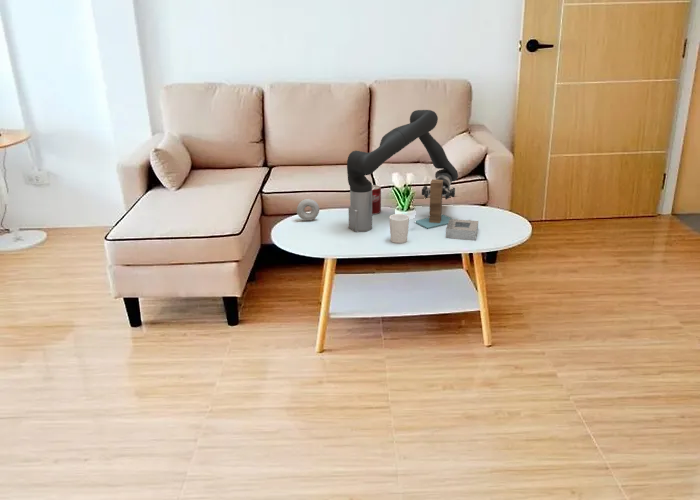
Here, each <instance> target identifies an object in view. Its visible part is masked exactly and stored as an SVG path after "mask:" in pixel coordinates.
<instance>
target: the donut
mask: <svg viewBox="0 0 700 500" xmlns="http://www.w3.org/2000/svg"><path fill="white" fill-rule="evenodd" d="M307 207H310V208H311V211H310V212H306V211H305V209H306V208H307ZM296 213H297V215H298V217H299V218H300V219H301V220H304V221H313V220H315V219H317V217H318V215H319V213H320V206H319V204H318V202H317V201H316V200H314V199H312V198H305V199H303V200H301V201H299V203H298V205H297V207H296Z"/></svg>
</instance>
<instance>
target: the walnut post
mask: <svg viewBox="0 0 700 500" xmlns="http://www.w3.org/2000/svg"><path fill="white" fill-rule="evenodd" d="M429 188H430V195H429V217H428V218H429V222H431V223H440V222H441V216H442V215H443V214H442V211H443V196H442V191H443V180H436V179H431V180H430V187H429Z"/></svg>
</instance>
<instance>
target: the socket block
mask: <svg viewBox="0 0 700 500" xmlns="http://www.w3.org/2000/svg"><path fill="white" fill-rule="evenodd" d="M478 231H479V220H472V219H471V220H470V219H459V218H458V219H455V218H452V219H450V220H449V222H448V225H446V227H445V239H456V240H466V241H468V240H469V241H476V238H477V234H478Z"/></svg>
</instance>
